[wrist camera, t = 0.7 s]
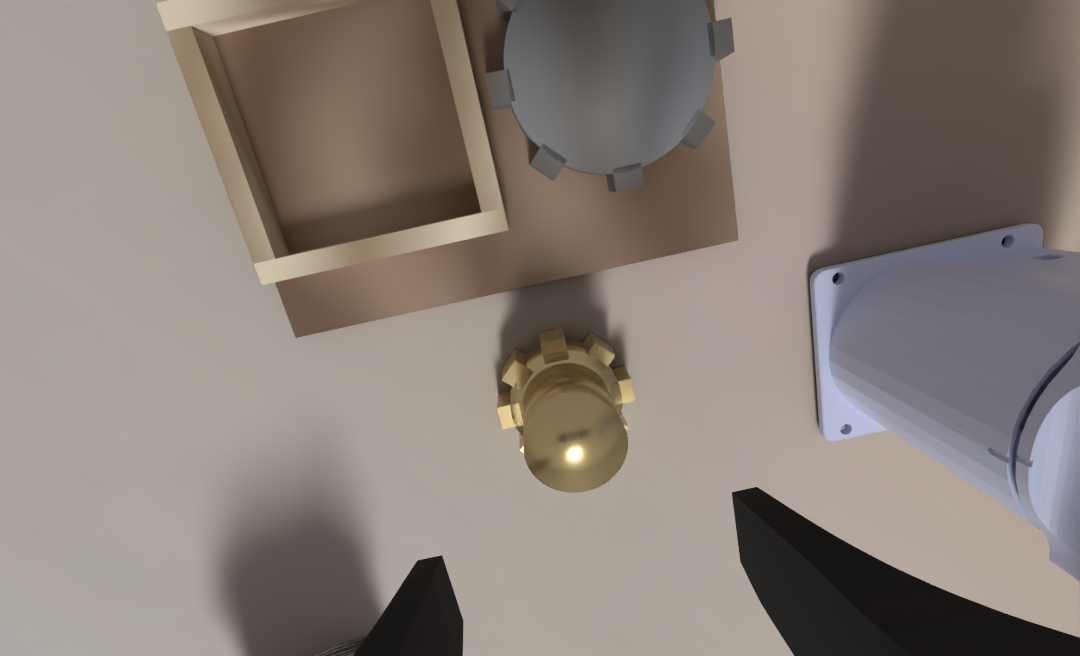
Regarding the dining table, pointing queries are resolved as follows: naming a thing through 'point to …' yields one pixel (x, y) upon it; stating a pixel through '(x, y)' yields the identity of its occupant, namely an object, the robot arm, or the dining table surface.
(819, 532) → the robot arm
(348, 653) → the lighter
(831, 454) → the dining table surface
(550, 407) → the brass gear
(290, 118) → the gear board
